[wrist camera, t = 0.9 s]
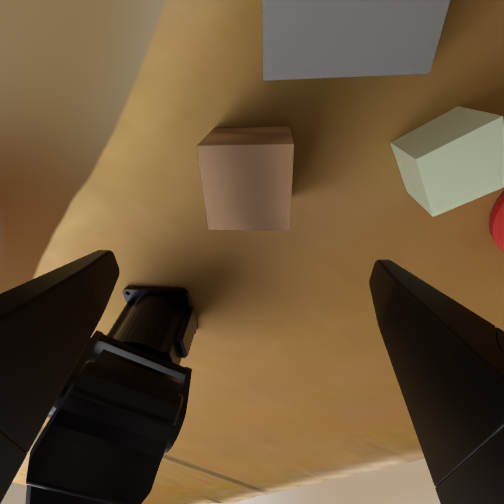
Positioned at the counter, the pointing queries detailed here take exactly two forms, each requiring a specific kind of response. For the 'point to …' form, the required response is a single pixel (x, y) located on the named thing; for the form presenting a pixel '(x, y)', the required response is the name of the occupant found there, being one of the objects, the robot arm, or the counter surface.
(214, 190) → the walnut cube
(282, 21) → the grey square block
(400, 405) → the counter surface
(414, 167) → the sage block
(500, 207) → the canned food
